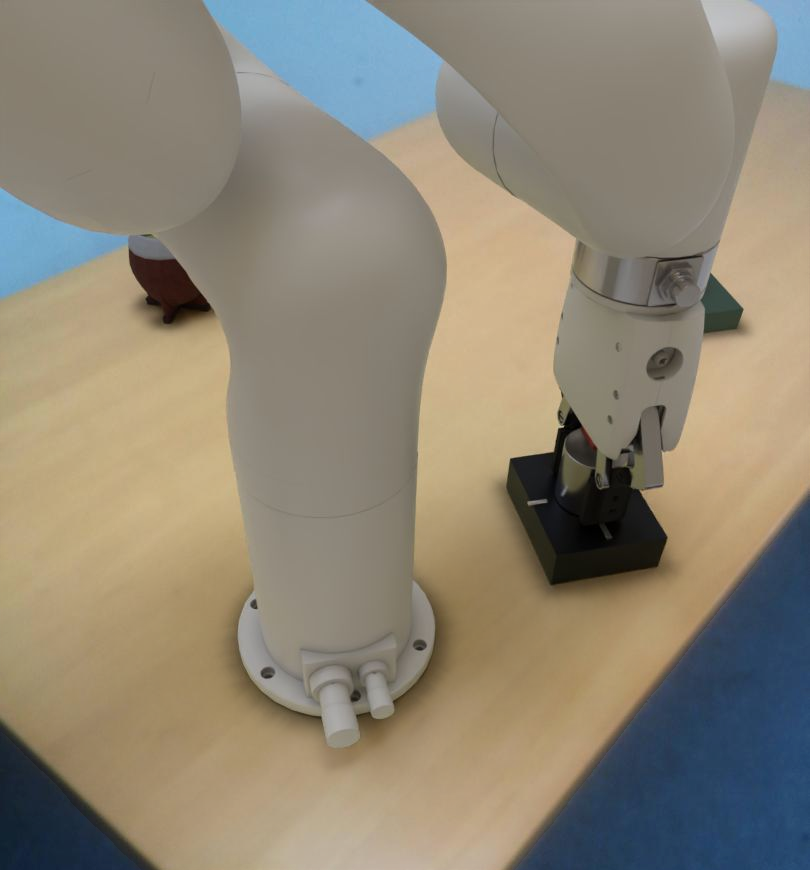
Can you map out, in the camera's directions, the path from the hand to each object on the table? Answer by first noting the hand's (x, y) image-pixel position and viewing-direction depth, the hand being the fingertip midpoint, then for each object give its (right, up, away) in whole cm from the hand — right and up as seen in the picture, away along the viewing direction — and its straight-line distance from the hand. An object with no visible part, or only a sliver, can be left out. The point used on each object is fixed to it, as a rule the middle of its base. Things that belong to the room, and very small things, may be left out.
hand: (586, 492), depth 61 cm
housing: (+12, +20, +24) cm, 33 cm away
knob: (0, 0, 0) cm, 0 cm away
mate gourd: (-35, +19, +22) cm, 45 cm away
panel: (0, -2, +2) cm, 3 cm away
